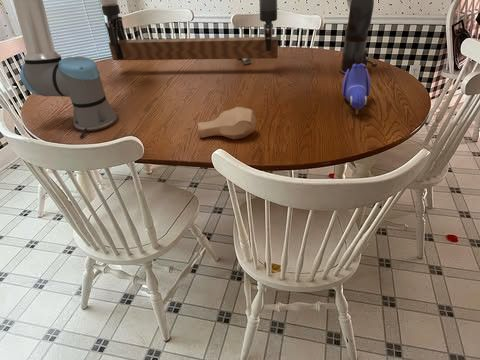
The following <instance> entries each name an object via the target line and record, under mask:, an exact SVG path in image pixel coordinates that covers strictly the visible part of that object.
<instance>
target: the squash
mask: <svg viewBox="0 0 480 360" xmlns="http://www.w3.org/2000/svg"><path fill="white" fill-rule="evenodd" d="M256 124H257V117H256V116H255V114H254V112H253V110H252V108H246V107H243V106H236V107H234V108H231V109H227V110H224V111H222V112H221V113H220V114H219V115H218V117H217V118H215V119H213V120H209V121H208V120H207V121H200V122H198V123H197V135H198V137H200V138H206V137H207V138H208V137H212V136H213V137H214V136H223V137H226V138H228V139H231V140H239V139H245V138H247V137H248V136H250V135H251V134H253V133H255V128H256Z"/></svg>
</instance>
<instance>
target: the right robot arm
mask: <svg viewBox="0 0 480 360" xmlns="http://www.w3.org/2000/svg"><path fill="white" fill-rule="evenodd" d="M346 3H347V8H348V9H349V13H348V21H347V24H346V26H345V31H344V33H345V34H344V41H343V49H342V59H341V66H340V72H341V73H342V74H344V75H345V73H346V71H347V70H348V69H349V72H350V70H351V69H352V65H354V64H357V65H359V64H361V63H362V64H365V67H367V66H368V63H369V64H370V65H371V66H372V67H375V66H377V65H378V63H373V62H372V61H371V60H368V58H367V53H368V50H367V49H366V47H367V42H368V34H369V28H370V27H371V24H372V23H371V22H372V17H373V13H374V6H375V0H346ZM277 20H278V0H259V21H260V22H263V30H264V32H263V33H264V34H263V37H265V42H266V51H271V37H273V34H274V33H273V32H274V31H273V30H274V23H273V22H275V21H277ZM267 37H270V39H267ZM365 67H363V68H364V69H365ZM349 72H348V74H349Z"/></svg>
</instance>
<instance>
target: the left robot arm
mask: <svg viewBox="0 0 480 360" xmlns="http://www.w3.org/2000/svg"><path fill="white" fill-rule="evenodd" d="M12 2H13V6H14V11H15V14H16V17H17V22H18V25H19V29H20V33H21V35H22V40H23V42H24V46H25V50H26V54H25V56H24V57H23V62H24V63H23V64H22V65H21V67H20V71H19V75H20V80H21V83H22V85H23V86H24V88H25V89H26V90H27V91H28V92H30V93H31V94H33V95H35V96H40V97H42V96H43V97H63V98H65V97H66V98H69V99H70V101H71V104H72V108H73V114H72V117H73V118H72V119H73V125H74V128H75V129H76V131H78V132H81V133H80V135H79V138H80V139H82V138H83V137H84V135H85V134H86V133H92V132H99V131H102V130H105V129H107V128H110V127H111V126H113V125H115V124H116V122H117V121H118V116H117V113H116V111H115V107H112V105H111V103H110V102H109V101H108V99H107V96H106V92H105V89H104V87H103V86H104V85H103V83H102V79H101V73H100V71H99V69H98V66H97V64H96V62H95V61H94V60H93V59H91V58H89V57H86V56H85V57H84V56H77V55H76V56H68V57H65V58H62V55H61V54H60V53H58V52H57V51H56V50H55V46H54V42H53V38H52V34H51V29H50V26H49V20H48V17H47V13H46V7H45V4H44V1H43V0H12ZM118 3H119V1H118V0H99V4H100V5H101V11H102V15H104V16H106V19H107V20H106V21H107V22H105V23H104V25H105V27H106V30H107V34H108V39H109V42H110V43H111V45H112V46H114V48H115V52H116V56H117V60H116V61H119V60H118V59H123V55H122V51H121V47H120V45H119V42H118V40H127V36H126V32H125V31H126V30H125V28H124V23H123V18H122V16H119V15H120V13H121V8H120V5H119V4H118Z"/></svg>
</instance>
